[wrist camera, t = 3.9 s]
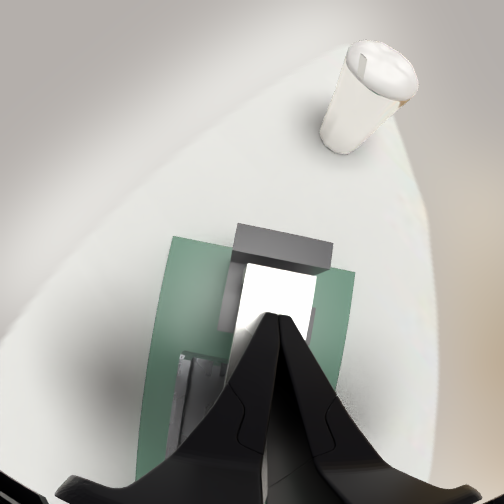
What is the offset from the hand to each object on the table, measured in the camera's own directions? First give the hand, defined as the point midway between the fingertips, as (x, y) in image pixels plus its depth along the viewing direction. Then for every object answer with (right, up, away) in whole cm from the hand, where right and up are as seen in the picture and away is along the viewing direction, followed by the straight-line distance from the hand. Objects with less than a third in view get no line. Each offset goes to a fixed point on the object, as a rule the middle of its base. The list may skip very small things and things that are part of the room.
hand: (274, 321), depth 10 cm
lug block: (-1, 0, +9) cm, 9 cm away
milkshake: (+6, +11, +12) cm, 17 cm away
